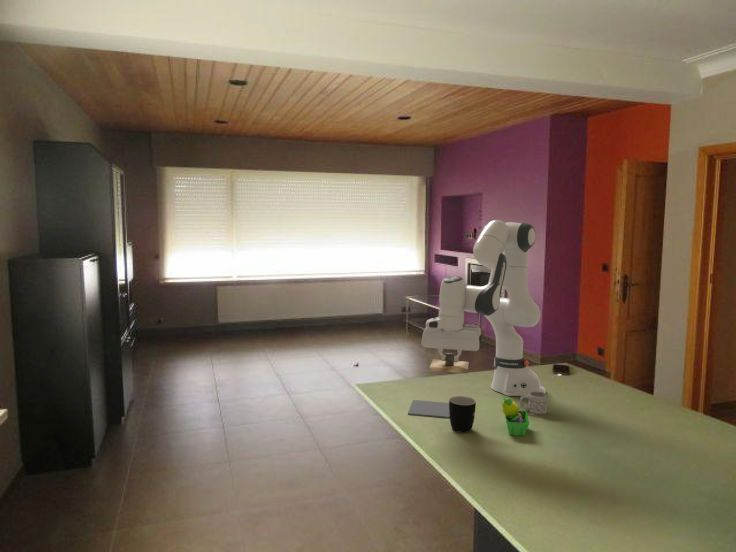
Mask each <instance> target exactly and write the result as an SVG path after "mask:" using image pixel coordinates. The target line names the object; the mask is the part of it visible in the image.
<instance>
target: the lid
mask: <svg viewBox="0 0 736 552" xmlns="http://www.w3.org/2000/svg"><path fill="white" fill-rule="evenodd" d="M445 356H446V358H445V361H441V359H435V358H433V359H432V361H431V362H430V365H429V367H428V371H432V372H442V373H443V372H444V373H454V374H456V373H457V374H468V371H469V363H470V362H469V361H463V360H461V361H460V360H458V362H454V356H455V353H453V352H445Z"/></svg>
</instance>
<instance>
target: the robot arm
mask: <svg viewBox="0 0 736 552" xmlns="http://www.w3.org/2000/svg"><path fill="white" fill-rule="evenodd" d="M536 235H537V234H536V229H535V228H534V227H533V225H532V224H529V223H526V222H515V221H514V222H513V221H507V222H505V221H503V220H500V219H494V220H491V221H489V222H488V223H486V224H484V226H483V227H482V229H481V232H480V234H479V235H478V237H477V239H476V240H475V242H474V245H473V247H472V248H473V250H472V253H473V256H474V259H475V260H476V261H477V263H478V264H480V265H481V266H482V267H484V268H487V269H489V270H491V271H490V275H489V278H488V282H487V284H486V285H483V286H481V285H472V284H471V285H470V284H468V283H466V282H465V280H464V278H463V277H462V276H457V275H454V276H453V275H452V276H446V277H444V278H443V279H442V281H441V282H440V283H441V284H440V289H439V296H438V297H439V298H438V301H439V302H438V303H439V311H438V316H436V317H432V318H428V319H427V320H426V322H425V328H424V330H423V332H422V335H421V337H422V338H421V343H420V344H421V346H422V347H423V348H428V349H438V350H437V351H438V353H439V355H440V357H441V359H440V360H441V361H445V358H446V354H445V355H444V353H443V351H444V350H454V351H456V352H457V354H456V355H454V362H458V361H459V358H460V357H461V354H462V353H463V351H468V352H469V351H470V352H478V351H479V349H480V337H481V335H482V328H481V327H480V326H479V325H477V324H475V323H474V324H472V323H471V324H470V323H465V312H468V313H475V314H479V315H484V318H486V320H488V321H489V323H490V324H491V327H492V330H493V332H494V335H495V354H494V359H493V360H494V361H493V367H494V368H493V369H494V373H493V377H492V382H491V384H490V389H492V391H495V392H498V393H501V394H504V395H505V396H511V397H514V396H515V397H521V396H526V395H529V392H543V393H545V394H547V391H546V388H545V386H542V385H541V381H540V380H541V379H540V378H539V377H540V376H538V375H537V373H536V372H535V371H533V370H532V369H531V368H529V365H530V362H529V360H528V359H526V357H524V355H523V354H524V350H523V349H524V339H523V337H522V336H521V335H520V334H519V333H518V332H517V331H516V329H515V326H516V327H520V328H531V327H532V328H533V327H535V326H536V325H538V324H539V322H540V320H541V316H542V315H541V314H542V313H541V309H540V307H539V305H538V304H537V303H536V302H535V301H534V299H533V298H532V297H531V294H530V292H529V287H528V286H529V285H528V272H529V252H528V251H529V250H531V248H532V247H533V246H534V244H535V241H536ZM502 289H504V290H506V292H507V295H508V297H501V295H502Z"/></svg>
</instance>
